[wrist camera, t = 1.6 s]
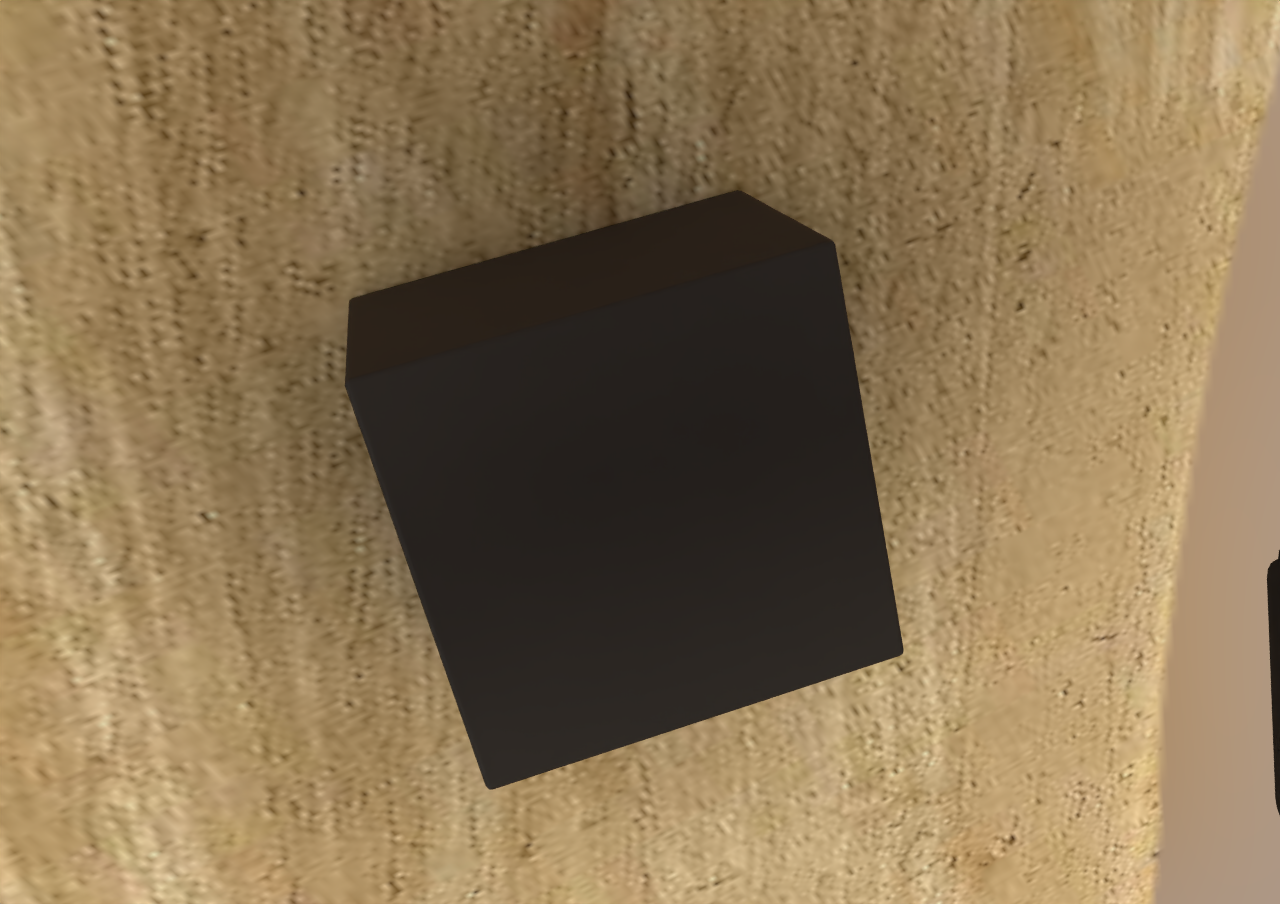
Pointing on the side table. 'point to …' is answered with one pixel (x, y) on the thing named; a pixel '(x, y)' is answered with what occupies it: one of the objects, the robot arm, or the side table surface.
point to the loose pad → (628, 477)
